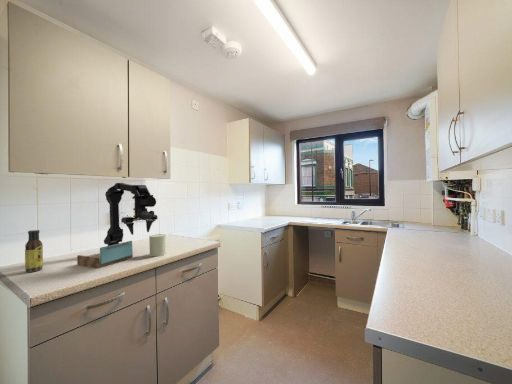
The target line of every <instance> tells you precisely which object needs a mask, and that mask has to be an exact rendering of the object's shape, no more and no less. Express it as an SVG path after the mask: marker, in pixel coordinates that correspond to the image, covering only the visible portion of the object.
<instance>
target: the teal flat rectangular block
mask: <svg viewBox="0 0 512 384" xmlns="http://www.w3.org/2000/svg"><path fill="white" fill-rule="evenodd" d="M132 250H133V241H132V240H128V241H124V242H123V241H122V242H119V244H115V245H110V246H108V245H107V246H101V247H99V256H100V264H103V263H107V262H110V261H113V260H117V259H120V258H124V257H127V256H130V255H132Z"/></svg>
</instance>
